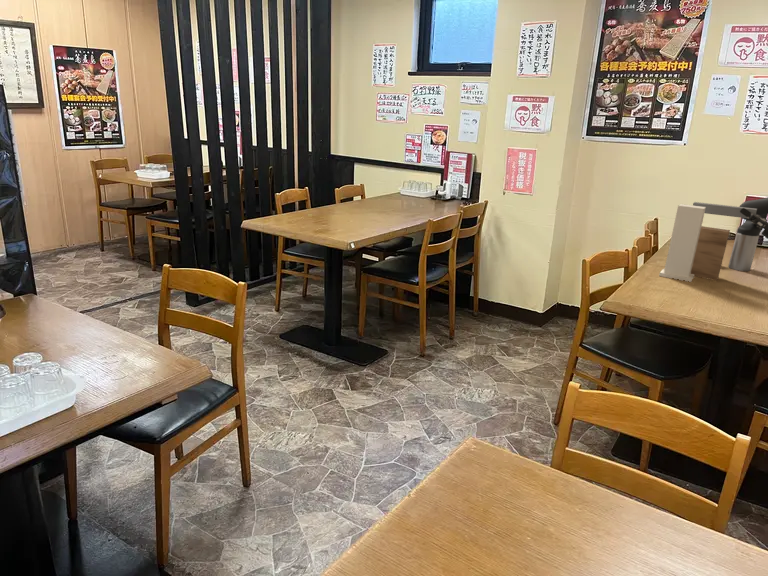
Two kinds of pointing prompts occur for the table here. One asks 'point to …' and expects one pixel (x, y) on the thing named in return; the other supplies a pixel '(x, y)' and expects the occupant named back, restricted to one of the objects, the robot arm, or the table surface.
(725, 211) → the grey block
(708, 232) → the brown wooden block
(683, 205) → the tall stand
